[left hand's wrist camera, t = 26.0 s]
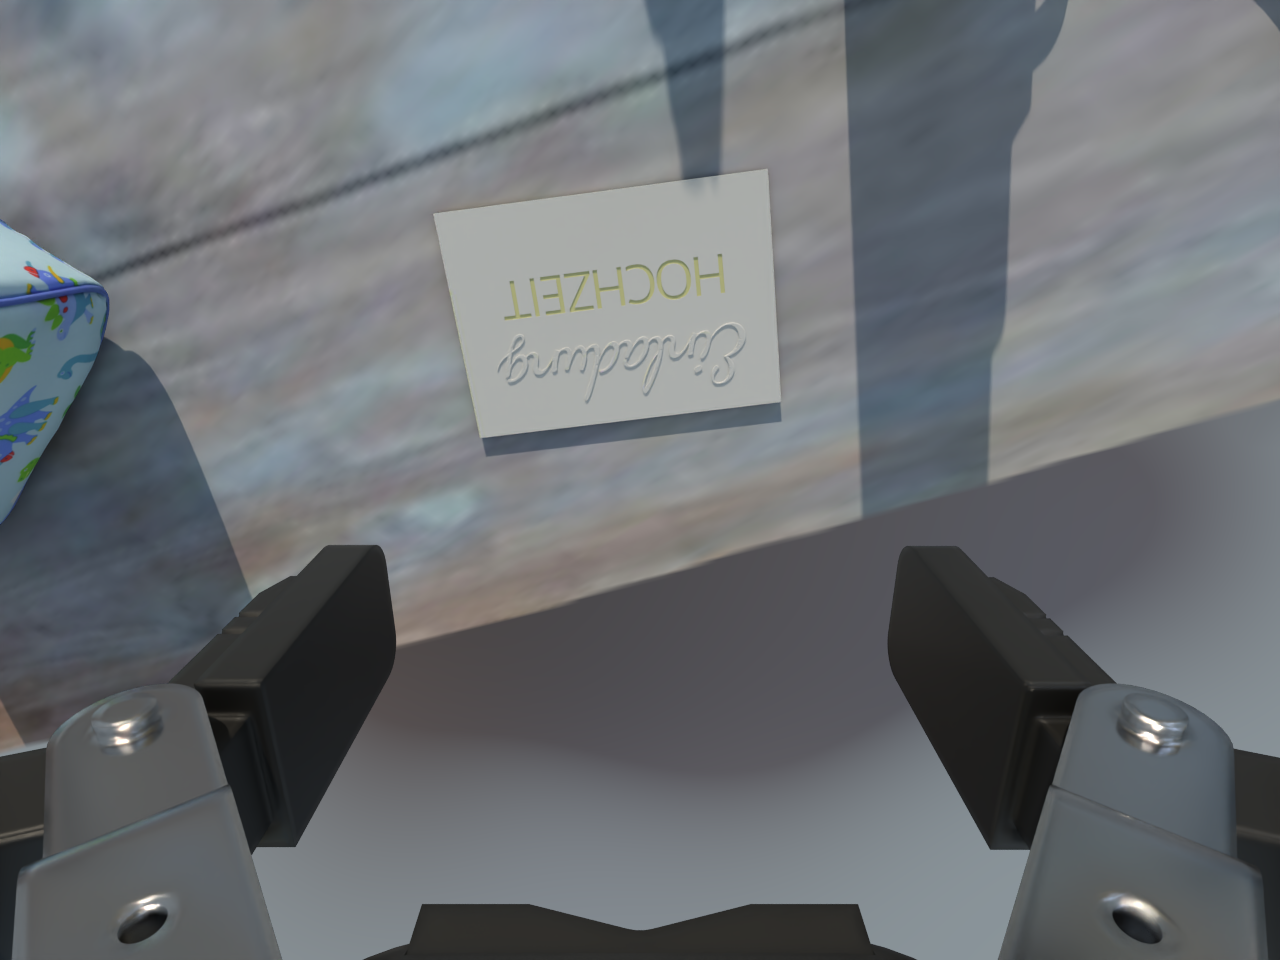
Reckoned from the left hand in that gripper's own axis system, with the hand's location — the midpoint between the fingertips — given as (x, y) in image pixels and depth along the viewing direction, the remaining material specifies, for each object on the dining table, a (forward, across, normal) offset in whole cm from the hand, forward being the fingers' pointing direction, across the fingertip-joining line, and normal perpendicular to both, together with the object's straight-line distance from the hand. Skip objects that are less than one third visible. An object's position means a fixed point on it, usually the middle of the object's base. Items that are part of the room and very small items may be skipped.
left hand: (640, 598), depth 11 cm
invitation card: (+39, +2, 0) cm, 39 cm away
